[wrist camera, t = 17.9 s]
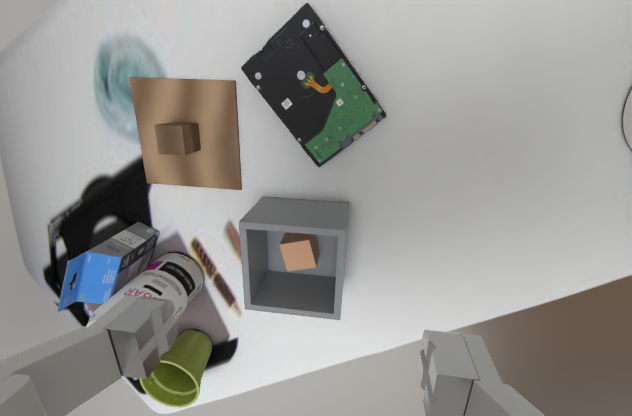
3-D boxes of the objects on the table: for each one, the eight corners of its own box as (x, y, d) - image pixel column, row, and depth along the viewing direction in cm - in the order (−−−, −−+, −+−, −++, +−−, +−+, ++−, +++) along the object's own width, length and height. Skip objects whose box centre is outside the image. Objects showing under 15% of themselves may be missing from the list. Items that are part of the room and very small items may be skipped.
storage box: (348, 202, 42) (345, 230, 33) (343, 278, 46) (340, 320, 38) (262, 196, 43) (238, 221, 35) (265, 271, 47) (245, 309, 39)
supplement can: (161, 292, 52) (88, 366, 38) (153, 248, 49) (70, 311, 35) (207, 297, 51) (150, 374, 37) (202, 252, 48) (137, 318, 34)
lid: (237, 81, 39) (220, 79, 34) (243, 187, 44) (229, 199, 39) (134, 77, 40) (105, 76, 36) (151, 181, 45) (127, 191, 41)
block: (313, 227, 43) (309, 239, 39) (320, 252, 44) (316, 267, 40) (286, 231, 43) (279, 244, 40) (293, 256, 45) (287, 271, 41)
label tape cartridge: (147, 274, 51) (85, 327, 39) (125, 263, 51) (56, 313, 39) (160, 231, 48) (97, 275, 36) (137, 219, 47) (66, 260, 36)
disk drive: (246, 71, 38) (321, 164, 41) (238, 69, 36) (318, 169, 38) (310, 6, 35) (387, 113, 38) (306, -1, 32) (389, 114, 35)
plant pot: (197, 312, 52) (167, 352, 44) (232, 350, 54) (210, 396, 46) (161, 333, 55) (127, 374, 47) (196, 369, 57) (169, 414, 49)
